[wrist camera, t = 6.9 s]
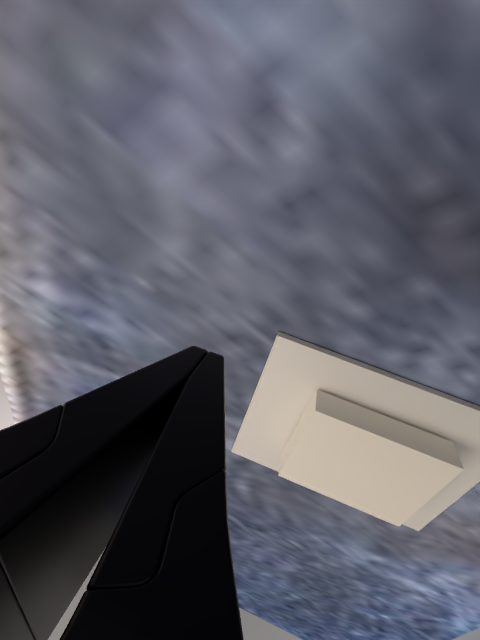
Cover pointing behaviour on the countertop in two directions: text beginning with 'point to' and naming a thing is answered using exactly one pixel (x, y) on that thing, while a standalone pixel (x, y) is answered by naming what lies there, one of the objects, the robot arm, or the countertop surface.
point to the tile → (367, 459)
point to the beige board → (363, 390)
